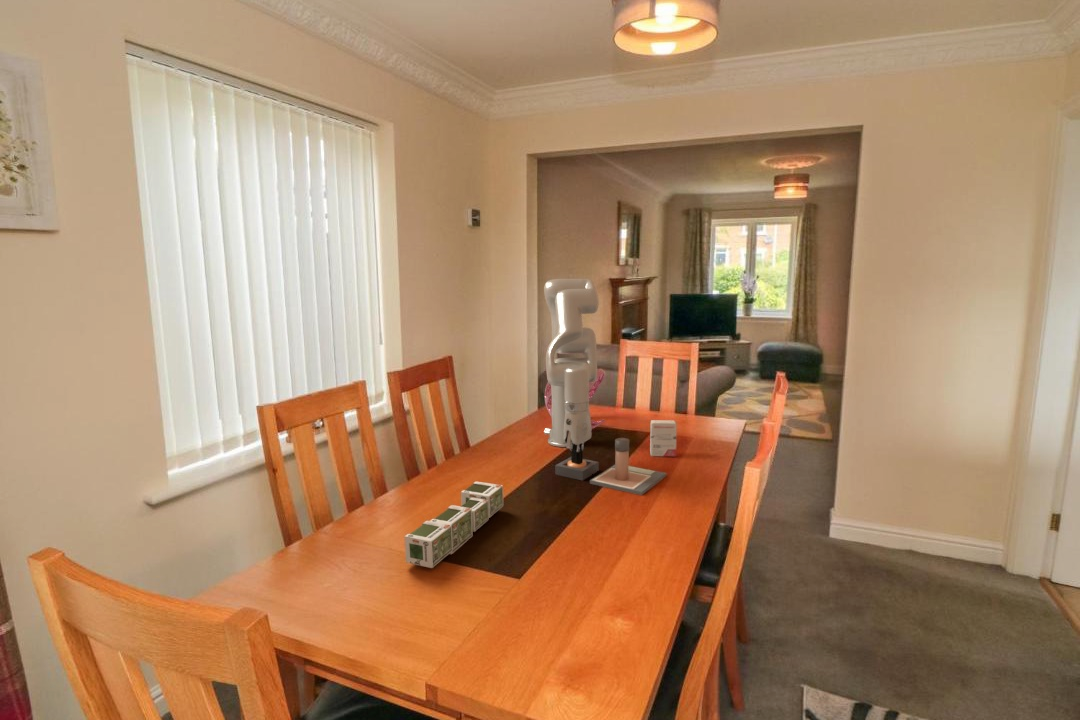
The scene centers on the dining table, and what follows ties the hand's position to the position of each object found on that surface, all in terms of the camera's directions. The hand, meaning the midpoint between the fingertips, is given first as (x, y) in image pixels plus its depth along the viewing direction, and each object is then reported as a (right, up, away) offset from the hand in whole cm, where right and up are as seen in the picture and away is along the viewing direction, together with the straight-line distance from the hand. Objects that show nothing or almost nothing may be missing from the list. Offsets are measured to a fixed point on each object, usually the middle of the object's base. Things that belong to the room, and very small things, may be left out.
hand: (577, 462), depth 188 cm
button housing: (0, -3, +1) cm, 3 cm away
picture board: (+15, -4, -6) cm, 17 cm away
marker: (+13, -3, -8) cm, 16 cm away
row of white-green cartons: (-32, -11, -42) cm, 54 cm away
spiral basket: (+3, +5, +54) cm, 54 cm away
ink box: (+31, 0, +17) cm, 35 cm away
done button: (0, -3, 0) cm, 3 cm away
